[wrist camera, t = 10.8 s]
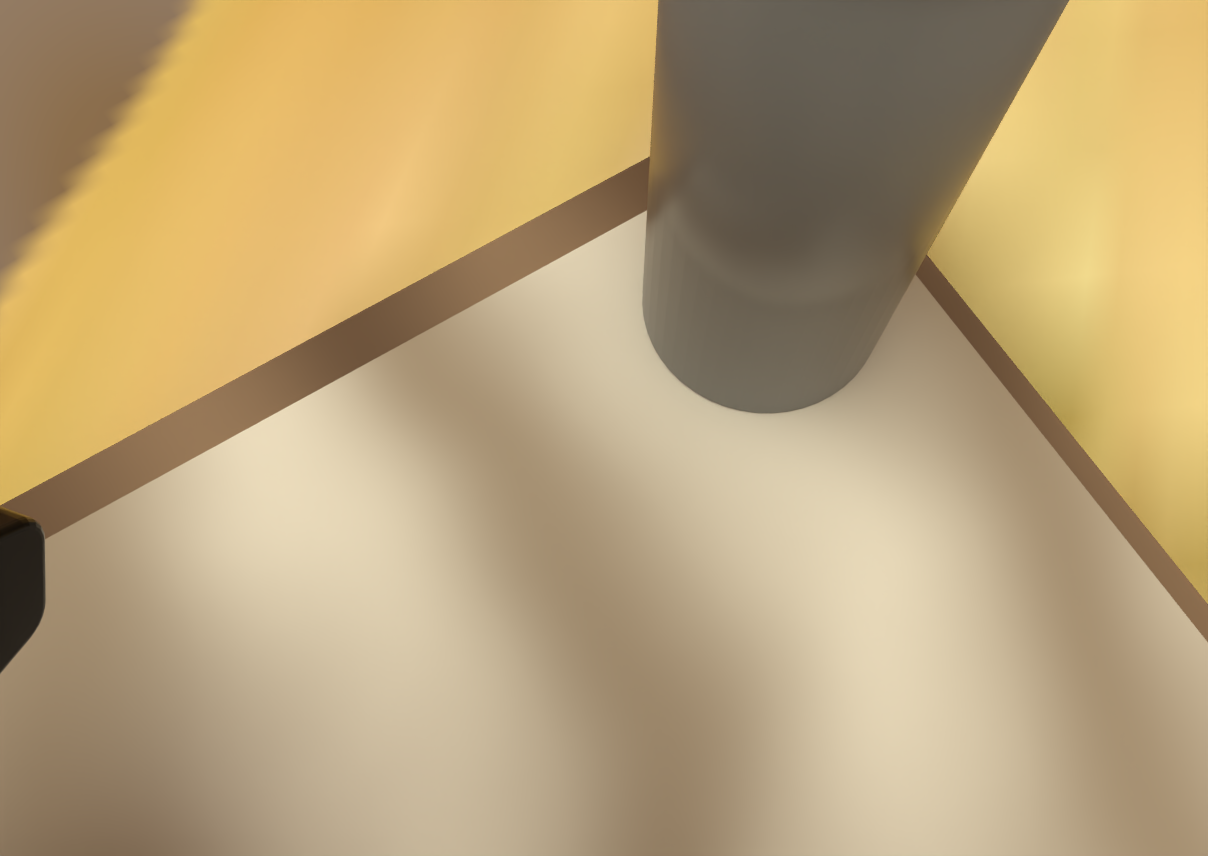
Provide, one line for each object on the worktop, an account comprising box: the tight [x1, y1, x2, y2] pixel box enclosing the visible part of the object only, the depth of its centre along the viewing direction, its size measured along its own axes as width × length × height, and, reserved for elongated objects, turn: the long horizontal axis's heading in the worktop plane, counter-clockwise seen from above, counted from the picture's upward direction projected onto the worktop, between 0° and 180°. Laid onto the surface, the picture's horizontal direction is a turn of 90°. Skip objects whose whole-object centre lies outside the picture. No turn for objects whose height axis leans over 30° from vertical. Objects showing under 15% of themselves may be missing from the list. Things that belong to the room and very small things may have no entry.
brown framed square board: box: [0, 157, 1208, 856], centre depth 15 cm, size 19×19×2 cm
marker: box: [642, 0, 1069, 413], centre depth 12 cm, size 4×4×12 cm
